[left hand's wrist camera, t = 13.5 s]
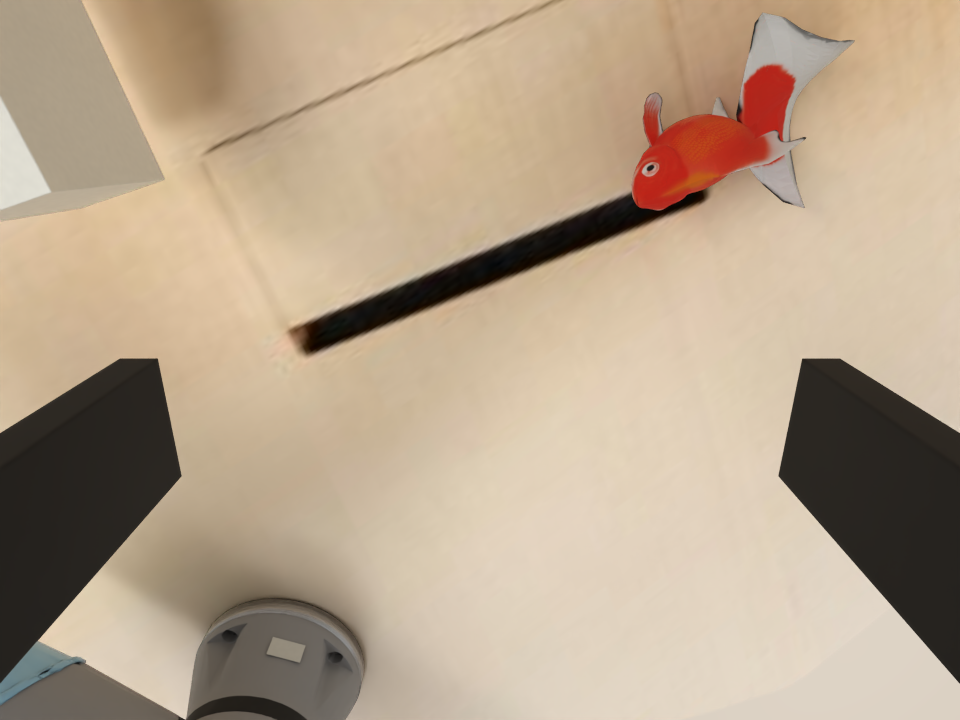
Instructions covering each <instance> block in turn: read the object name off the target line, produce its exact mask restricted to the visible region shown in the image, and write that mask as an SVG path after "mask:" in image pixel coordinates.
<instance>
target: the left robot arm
mask: <svg viewBox="0 0 960 720" xmlns="http://www.w3.org/2000/svg"><path fill="white" fill-rule="evenodd" d="M180 477H181V471H180V466H179V461H178V456H177V451H176V446H175V441H174V437H173V432H172V427H171V422H170V417H169V412H168V407H167V402H166V397H165V392H164V387H163V382H162V378H161V373H160V368H159V363H158V359H119V360H117V361H116V362H114V363H112V364H111V365H109V366H107V367H106V368H104V369H103V370H101V371H99V372H98V373H96V374H95V375H93V376H91V377H90V378H88V379H87V380H85V381H83V382H82V383H80V384H79V385H77V386H75V387H74V388H72V389H71V390H69V391H67V392H66V393H64V394H62V395H61V396H59V397H58V398H56V399H54V400H53V401H51V402H50V403H48V404H46V405H45V406H43V407H42V408H40V409H38V410H37V411H35V412H34V413H32V414H30V415H29V416H27V417H26V418H24V419H22V420H21V421H19V422H18V423H16V424H14V425H13V426H11V427H9V428H8V429H6V430H5V431H3V432H1V433H0V720H185V719H183V718H181V717H179V716H178V715H176V714H175V713H173V712H171V711H169V710H167V709H166V708H164V707H162V706H160V705H158V704H157V703H155V702H153V701H151V700H150V699H148V698H146V697H144V696H142V695H141V694H139V693H137V692H135V691H133V690H132V689H130V688H128V687H126V686H125V685H123V684H121V683H119V682H117V681H116V680H114V679H112V678H110V677H108V676H107V675H105V674H103V673H101V672H99V671H98V670H96V669H94V668H92V667H91V666H89V665H87V664H85V663H86V660H84V659H82V658H81V657H70V656H68V655H66V654H64V653H62V652H60V651H58V650H56V649H53V648H51V647H49V646H47V645H45V644H43V643H41V642H39V641H38V640H39V639H40V637H41V636H42V635H43V634H44V633H45V632H46V631H47V629H48V628H49V627H50V626H51V625H52V624H53V623H54V621H55V620H56V619H57V618H58V617H59V616H60V615H61V613H62V612H63V611H64V610H65V609H66V608H67V607H68V605H69V604H70V603H71V602H72V601H73V600H74V599H75V597H76V596H77V595H78V594H79V593H80V592H81V591H82V589H83V588H84V587H85V586H86V585H87V584H88V583H89V581H90V580H91V579H92V578H93V577H94V576H95V575H96V573H97V572H98V571H99V570H100V569H101V568H102V567H103V565H104V564H105V563H106V562H107V561H108V560H109V559H110V557H111V556H112V555H113V554H114V553H115V552H116V551H117V549H118V548H119V547H120V546H121V545H122V544H123V542H124V541H125V540H126V539H127V538H128V537H129V536H130V534H131V533H132V532H133V531H134V530H135V529H136V528H137V526H138V525H139V524H140V523H141V522H142V521H143V520H144V518H145V517H146V516H147V515H148V514H149V513H150V512H151V510H152V509H153V508H154V507H155V506H156V505H157V504H158V502H159V501H160V500H161V499H162V498H163V497H164V496H165V494H166V493H167V492H168V491H169V490H170V489H171V488H172V486H173V485H174V484H175V483H176V482H177V481H178V480H179V478H180ZM779 477H780V478H781V480H782V481H783V482H784V483H785V484H786V485H787V486H788V488H789V489H790V490H791V491H792V492H793V493H794V494H795V496H796V497H797V498H798V499H799V500H800V501H801V502H802V504H803V505H804V506H805V507H806V508H807V509H808V510H809V512H810V513H811V514H812V515H813V516H814V517H815V518H816V520H817V521H818V522H819V523H820V524H821V525H822V526H823V528H824V529H825V530H826V531H827V532H828V533H829V534H830V536H831V537H832V538H833V539H834V540H835V541H836V542H837V544H838V545H839V546H840V547H841V548H842V549H843V551H844V552H845V553H846V554H847V555H848V556H849V557H850V559H851V560H852V561H853V562H854V563H855V564H856V565H857V567H858V568H859V569H860V570H861V571H862V572H863V573H864V575H865V576H866V577H867V578H868V579H869V580H870V581H871V583H872V584H873V585H874V586H875V587H876V588H877V589H878V591H879V592H880V593H881V594H882V595H883V596H884V597H885V599H886V600H887V601H888V602H889V603H890V604H891V605H892V607H893V608H894V609H895V610H896V611H897V612H898V613H899V615H900V616H901V617H902V618H903V619H904V620H905V621H906V623H907V624H908V625H909V626H910V627H911V628H912V629H913V631H914V632H915V633H916V634H917V635H918V636H919V637H920V639H921V640H922V641H923V642H924V643H925V644H926V645H927V647H928V648H929V649H930V650H931V651H932V652H933V653H934V655H935V656H936V657H937V658H938V659H939V660H940V661H941V663H942V664H943V665H944V666H945V667H946V668H947V669H948V671H949V672H950V673H951V674H952V675H953V676H954V677H955V679H956V680H957V681H958V682H959V683H960V433H959V432H957V431H955V430H954V429H952V428H951V427H949V426H947V425H946V424H944V423H942V422H941V421H939V420H938V419H936V418H934V417H933V416H931V415H930V414H928V413H926V412H925V411H923V410H922V409H920V408H918V407H917V406H915V405H914V404H912V403H910V402H909V401H907V400H906V399H904V398H902V397H901V396H899V395H898V394H896V393H894V392H893V391H891V390H889V389H888V388H886V387H885V386H883V385H881V384H880V383H878V382H877V381H875V380H873V379H872V378H870V377H869V376H867V375H865V374H864V373H862V372H861V371H859V370H857V369H856V368H854V367H853V366H851V365H849V364H848V363H846V362H844V361H843V360H841V359H802V363H801V368H800V373H799V378H798V382H797V387H796V392H795V397H794V402H793V407H792V412H791V417H790V422H789V427H788V432H787V437H786V441H785V446H784V451H783V456H782V461H781V466H780V471H779ZM363 674H364V660H363V655H362V651H361V649H360V646H359V644H358V642H357V641H356V639H355V637H354V636H353V635H352V633H351V632H350V631H349V630H348V629H347V628H346V626H344V625H343V624H342V623H341V622H340V621H339V620H337V619H336V618H335V617H333V616H332V615H330V614H328V613H327V612H325V611H323V610H321V609H319V608H317V607H314V606H312V605H309V604H306V603H302V602H298V601H293V600H286V599H262V600H255V601H251V602H247V603H244V604H241V605H238V606H236V607H234V608H232V609H230V610H228V611H227V612H225V613H224V614H223V615H221V616H220V617H219V618H218V619H217V620H216V621H215V622H214V623H213V624H212V626H211V627H210V629H209V630H208V632H207V634H206V636H205V637H204V639H203V641H202V643H201V645H200V647H199V649H198V651H197V654H196V659H195V663H194V670H193V676H192V683H191V690H190V697H189V704H188V711H187V718H186V720H345V719H346V718H347V716H348V715H349V713H350V711H351V710H352V708H353V706H354V704H355V703H356V700H357V698H358V696H359V693H360V688H361V683H362V679H363Z"/></svg>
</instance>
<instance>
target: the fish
mask: <svg viewBox="0 0 960 720" xmlns="http://www.w3.org/2000/svg"><path fill="white" fill-rule="evenodd" d="M853 42H854V40H846V41H836V40H831V39H827V38H822V37H820V36H817V35H815V34H812V33H810V32H807V31H805V30H802V29H801V28H799V27H798V26H796V25H795V24H793V23H792V22H790V21H789V20H787V19H786V18H784V17H780V16H775V15H771V14H766V13H762V14H761V16H760V17H759V18H758V20H757V21H756V22H755V25H754V31H753V36H752V42H751V47H750V52H749V56H748V60H747V64H746V68H745V72H744V77H743V82H742V87H741V93H740V98H739V103H738V109H737V114H736V115H737V121H735V120H733V119H730V118H729V117H728V115H727V113H726V111H725V109H724V107H723V105H722V102H721V100H720V98H719V97H718V98H716V101H715V105H714V108H713V111H712V115H711V114H704V115H697V116H692V117H689V118H686V119H683V120H681V121H678V122H676V123H675V124H673V125H671V126H670V127H668V128H667V129H666V130H665V131H664V132H663V130H662V125H661V120H660V112H661V106H662V98H661V96H660V95H659V94H658V93H653V94H650V95H649V96H648V97H647V99H646V102H645V105H644V116H643V124H644V130H645V134H646V136H647V139H648V141H649V144H650V147H649V149H648V150H647V151H646V152H645V153H644V154H643V156H642V158H641V160H640V162H639V163H638V165H637V167H636V170H635V173H634V176H633V179H632V196H633V199H634V201H635V203H636V204H637V205H638V206H639V207H640V208H648V209H654V210H662V209H664V208H666V207H668V206H669V205H671V204H673V203H676V202H678V201H680V200H682V199H683V198H684V197H685V196H686V195H687V194H690V193H693V192H697V191H700V190H703V189H705V188H707V187H709V186H711V185H713V184H715V183H717V182H718V181H720V180H721V179H723V178H724V177H725V176H727V175H728V174H731V173H734V172H737V171H740V170H744V169H747V168H750V170H751V171H752V172H753V174H754V175H755V176H756V178H757V179H758V180H759V181H760V182H761V183H762V184H763V185H764V186H765V187H766V188H768V189H769V190H770V191H771V192H772V193H773V194H775V195H776V196H777V197H778V198H779V199H780V200H781V201H783V202H785V203H788V204H792V205H796V206H799V207H803V208H805V207H804V204H803V202H802V199H801V196H800V193H799V190H798V187H797V183H796V178H795V172H794V167H793V162H792V156H791V149H793V148H794V147H795V146H797V145H798V144H799V143H801V142H802V141H803V140H805V139H806V137H803V138H800V139H797V140H793V141H790V121H791V114H792V110H793V107H794V104H795V101H796V99H797V97H798V95H799V94H800V92H801V91H802V90H803V88H804V87H805V86H806V85H807V84H808V83H809V82H810V81H811V80H812V79H813V78H814V77H815V76H816V75H817V74H818V73H819V72H820V71H821V70H822V69H824V68H825V67H826V66H827V65H829V64H830V63H831V62H832V61H834V60H835V59H836V58H837V57H838V56H839V55H840V54H841V53H842V52H844V51H845V50H846V49H847V48H848V47H849V46H850V45H851V44H852V43H853Z"/></svg>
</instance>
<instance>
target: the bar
mask: <svg viewBox="0 0 960 720" xmlns="http://www.w3.org/2000/svg"><path fill="white" fill-rule="evenodd" d="M163 180H165V178H164V176H163V173H162V171H161V169H160V167H159V165H158V163H157V161H156V159H155V156H154V154H153V152H152V150H151V148H150V146H149V144H148V141H147V139H146V137H145V135H144V133H143V131H142V129H141V127H140V124H139V122H138V120H137V118H136V116H135V114H134V112H133V109H132V107H131V105H130V103H129V101H128V99H127V97H126V95H125V92H124V90H123V88H122V86H121V84H120V82H119V80H118V78H117V75H116V73H115V71H114V69H113V67H112V65H111V63H110V60H109V58H108V56H107V54H106V52H105V50H104V48H103V46H102V43H101V41H100V39H99V37H98V35H97V33H96V31H95V28H94V26H93V24H92V22H91V20H90V18H89V16H88V14H87V11H86V9H85V7H84V5H83V3H82V1H81V0H0V222H1V221H7V220H14V219H20V218H26V217H32V216H38V215H44V214H51V213H57V212H63V211H69V210H75V209H81V208H84V207H87V206H90V205H93V204H96V203H99V202H102V201H105V200H108V199H110V198H113V197H116V196H119V195H122V194H125V193H128V192H131V191H134V190H137V189H140V188H142V187H145V186H148V185H151V184H154V183H157V182H160V181H163Z"/></svg>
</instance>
